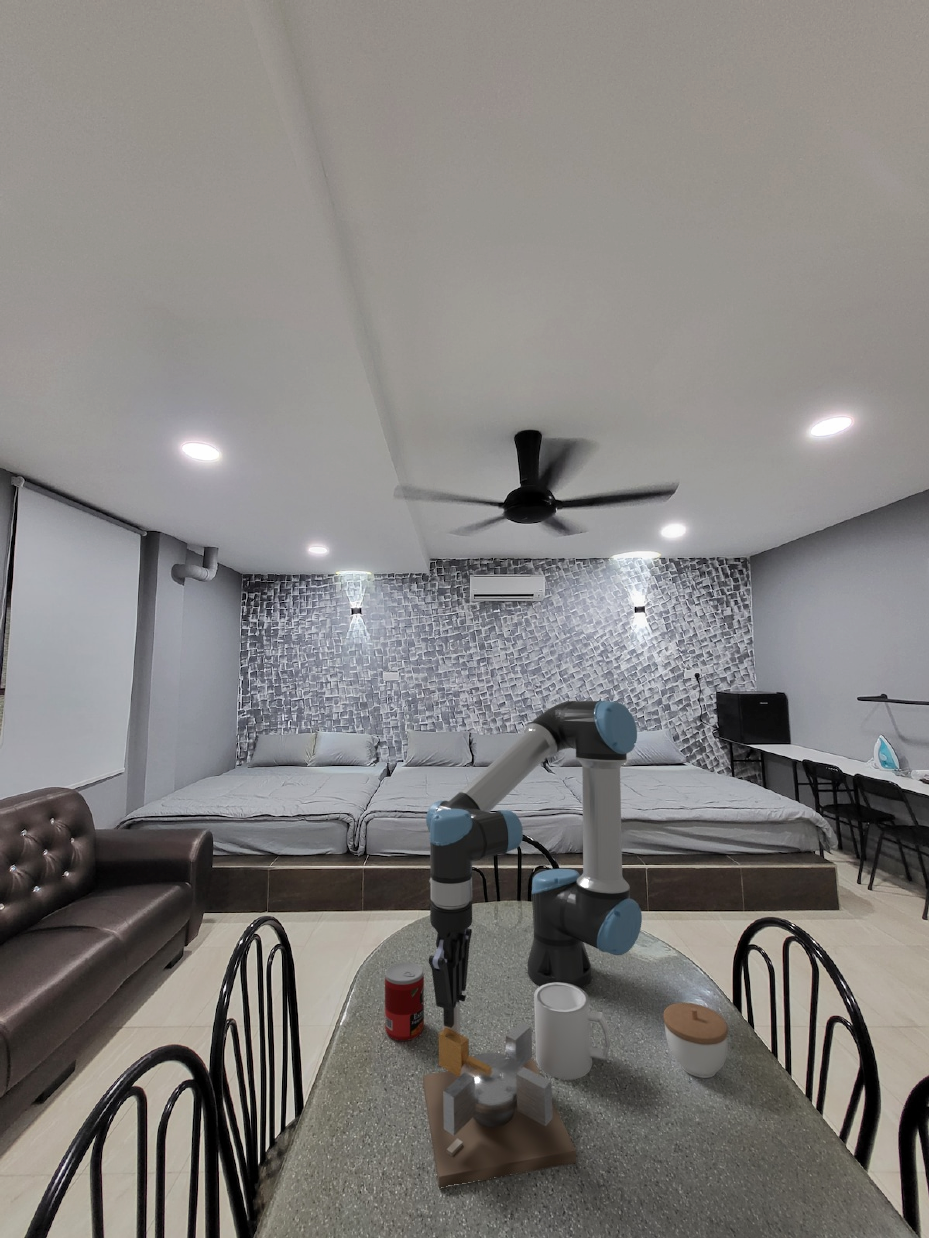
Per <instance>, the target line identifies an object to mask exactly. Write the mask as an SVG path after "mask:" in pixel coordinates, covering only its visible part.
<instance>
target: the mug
mask: <svg viewBox="0 0 929 1238" xmlns="http://www.w3.org/2000/svg"><path fill="white" fill-rule="evenodd" d="M533 994H534V995H533V1001H534V1002H533V1003H534V1004H533V1006H534V1007H533V1009H534V1031H535V1032H534V1034H535V1036H534V1037H535V1061H536V1065H537V1067H538V1068H539V1069H540V1070H541V1071H542V1072H544V1073H545V1074H547V1075H549V1076H550V1077H552V1078H556V1079H558V1080H564V1081H565V1080H568V1081H570V1080H571V1081H572V1080H576V1079H578V1080H579V1079H580V1078H583V1077H584V1076H586V1075H588V1074H589V1072H591V1069H592V1066H593V1059H595V1060H599V1061H605V1062H606V1061H607V1058H608V1055H609V1050H610V1045H611V1040H610V1036H611V1035H610V1027H609V1024H608V1022H607V1020H606V1018H605V1015H604V1014H603V1012H602V1011H596V1010H591V1009H590V997H589V995H588V993H587V992H586V991H584V990H583V989H582V988H579V987H577V986H575V985H572V984H568V983H560V982H555V983H548V984H545V985H542V986H540V985H539V986H538V988H536V989H535V991H534V993H533ZM591 1022H596V1023H599V1025H600V1027H601V1030H602V1031H603V1034H604V1035H603V1036H604V1046H603V1048H598V1047H593V1046H592V1034H591V1029H592V1028H591Z"/></svg>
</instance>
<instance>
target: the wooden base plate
mask: <svg viewBox="0 0 929 1238" xmlns="http://www.w3.org/2000/svg"><path fill="white" fill-rule="evenodd" d="M535 1061H536V1060H534V1058H533V1057H532V1058H531V1059H530V1060H529V1061H528V1062H527V1063H526V1064H525V1065H524V1066H523V1067H525V1068H527V1069H529V1070H531V1071H533V1072H535V1073H537V1074H539V1075H540V1076H542V1075H541V1073H540V1070H539V1069H538V1068H539V1067H538V1065H537V1063H536V1062H535ZM523 1067H522V1068H523ZM522 1068H521V1069H522ZM458 1078H459V1076H457V1075H455V1074H453V1073H452V1072H450V1071H448V1070H446V1071H440V1072H435V1073H429V1074H423V1075H422V1086H423V1087H422V1088H423V1093H424V1098H425V1106H426V1112H427V1119H428V1125H429V1132H430V1133H429V1134H430V1138H431V1146H432V1151H433V1158H434V1164H435V1171H436V1177H437V1184H439V1185H438V1189H439V1188H441V1187H446V1186H448V1185H454V1184H462V1183H468V1182H473V1181H478V1180H483V1181H487V1180H488V1181H489V1180H493V1179H495V1178H494V1177H498V1178H502V1177H501V1176H504V1177H506V1176H505V1175H509V1176H511V1175H510V1174H514V1175H517V1174H518V1173H519V1174H523V1173H522V1172H524V1173H528V1171H529V1172H534V1171H539V1170H544V1169H548V1168H553V1167H554V1168H556V1167H559V1166H565V1165H570V1164H574V1163H577V1150H576V1148H575V1146H574V1144H573V1141H572V1139H571V1137H570V1135H569V1133H568V1131H567V1128H566V1126H565V1124H564V1122H563V1120H562V1118H561V1115H560V1113H559V1111H558V1109H557V1107H556V1104H555V1103H554V1100H553V1099H552V1116H553V1118H552V1119H551V1121H550V1122H549V1123H548V1124H547V1126H546V1127H545V1126H544V1125H542V1124H540V1123H539V1122H537V1121H535V1120H533V1119H532V1118H530V1117H528V1116H526V1115H525V1114H523V1113H521V1112H519V1111H518V1110H517V1106H516V1107H515V1108H513V1109H512V1110H510V1111H508V1112H505V1113H502V1114H493V1115H492V1114H484V1113H480V1112H477V1111H476V1114H475V1115H474V1116H473V1118H472V1119H471V1120H470V1121H469V1122H468V1123H467V1124H466V1125H465V1126H464V1127H463V1128H462V1129H461V1130H460V1131H459V1132H458V1133H457V1134H456V1135H455V1136H453V1135H452V1134H450V1133H449V1132H448V1131H446V1130H445V1129H444V1104H443V1091H444V1090H445V1089H446V1088H447V1087H449V1086H450V1085H451V1084H452V1083H453V1082H454V1081H455V1080H456V1079H458ZM532 1170H533V1171H532ZM526 1171H527V1172H526ZM516 1173H517V1174H516ZM519 1174H518V1175H519ZM490 1178H491V1179H490ZM492 1178H493V1179H492ZM478 1182H479V1181H478ZM473 1183H474V1182H473ZM468 1184H469V1183H468Z"/></svg>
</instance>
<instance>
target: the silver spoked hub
mask: <svg viewBox="0 0 929 1238" xmlns="http://www.w3.org/2000/svg"><path fill="white" fill-rule="evenodd" d="M532 1032H533V1031H532V1025H530V1024H528V1023H527V1022H524V1021H520V1022H519V1023H518V1024H517V1025H516V1026H515V1027H514V1028H512V1029H511V1030H510V1031H509V1032H508V1033H506V1035H505V1054H504V1053H500V1052H493V1051H492V1052H491V1051H490V1052H481V1053H479V1054H476V1055H472V1056H471V1055H470V1051H469V1050H470V1048H469V1047H470V1046H469V1045H470V1043H469V1042H470V1041H469V1038H468V1037H466V1036H464V1035H463V1034H462V1035H461V1033H460V1034H458V1033H456V1032H454V1031H452V1030H450V1029H448V1028H445V1029H444V1030H443V1029H442V1030H441V1031H440V1032H439V1033H438V1065H439V1066H440V1067H441V1068H443V1069H445V1070H446V1071H450V1072H452V1073H453V1074H455V1075H457V1076H459V1078H458V1079H456V1080H455V1081H454V1082H453V1083H452V1084H451V1085H450V1086H449V1087H447V1088H446V1089H445V1090H444V1091H443V1104H444V1129H445V1130H446V1131H448V1132H449V1133H450V1134H452V1135H453V1136H455V1135H456V1134H457V1133H458V1132H459V1131H460V1130H461V1129H462V1128H463V1127H464V1126H465V1125H466V1124H467V1123H468V1122H469V1121H470V1120H471V1119H472V1118H473V1116H474V1115H475V1114H476V1111H477V1112H480V1113H484V1114H492V1115H493V1114H502V1113H505V1112H508V1111H510V1110H512V1109H513V1108H515V1107H516V1106H517V1110H518V1111H519V1112H521V1113H523V1114H525V1115H526V1116H528V1117H530V1118H532V1119H533V1120H535V1121H537V1122H539V1123H540V1124H542V1125H544V1126H545V1127H546V1126H547V1124H548V1123H549V1122H550V1121H551V1119H552V1118H553V1116H552V1100H553V1097H552V1096H553V1094H552V1092H553V1091H552V1080H550V1079H548V1078H546V1077H544V1076H542V1075H541V1076H540V1075H539V1074H537V1073H535V1072H533V1071H531V1070H529V1069H527V1068H525V1067H523V1066H524V1065H525V1064H526V1063H527V1062H528V1061H529V1060H530V1059H531V1058H533V1036H532ZM522 1067H523V1068H522ZM521 1068H522V1069H521Z"/></svg>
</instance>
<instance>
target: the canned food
mask: <svg viewBox="0 0 929 1238" xmlns="http://www.w3.org/2000/svg"><path fill="white" fill-rule="evenodd" d="M384 974H385V975H384V1027H385V1028H384V1029H385V1032H386V1034H387V1036H388V1037H389V1038H391V1039H392V1040H396V1041H401V1042H403V1041H404V1042H405V1041H410V1040H413V1039H416V1038H417V1037H419V1036H420V1035H421V1034H422V1033H423V1030H424V1027H425V1018H424V1017H425V983H424V982H425V980H424V979H425V977H424V975H425V973H424V968H423V967H422V966H421V965H420V964H418V963H416V962H410V961H403V962H402V961H401V962H397V963H394V964H391V965H390V966H389V967H387V968H386V970H385V973H384Z"/></svg>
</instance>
